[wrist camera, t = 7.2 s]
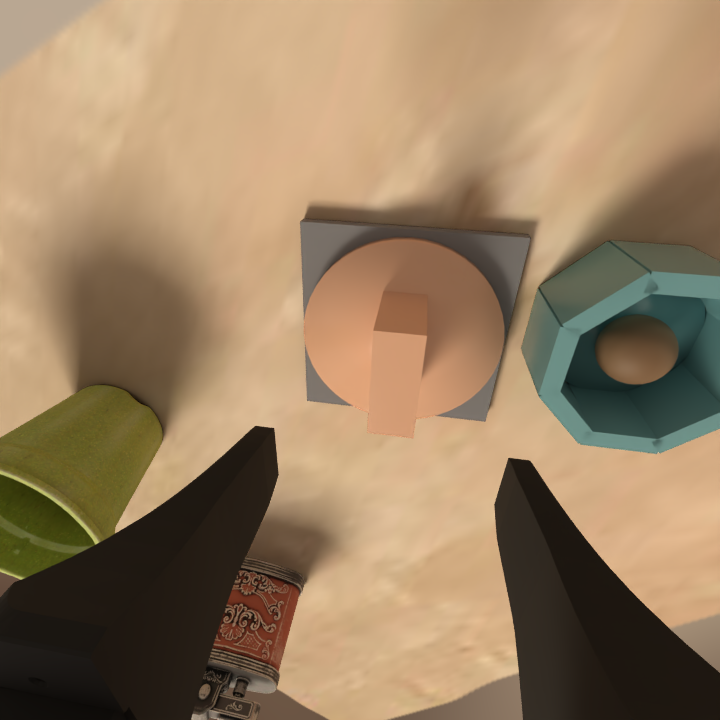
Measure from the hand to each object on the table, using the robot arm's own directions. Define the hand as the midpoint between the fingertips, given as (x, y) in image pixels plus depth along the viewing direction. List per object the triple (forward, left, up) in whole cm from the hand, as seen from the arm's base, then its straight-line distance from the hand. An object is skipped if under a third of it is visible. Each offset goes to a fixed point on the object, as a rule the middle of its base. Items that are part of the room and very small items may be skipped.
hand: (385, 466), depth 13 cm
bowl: (-10, -1, -10) cm, 14 cm away
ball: (-10, -1, -9) cm, 14 cm away
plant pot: (+18, +9, -10) cm, 22 cm away
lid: (0, 0, -9) cm, 9 cm away
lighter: (+10, +24, -10) cm, 28 cm away
